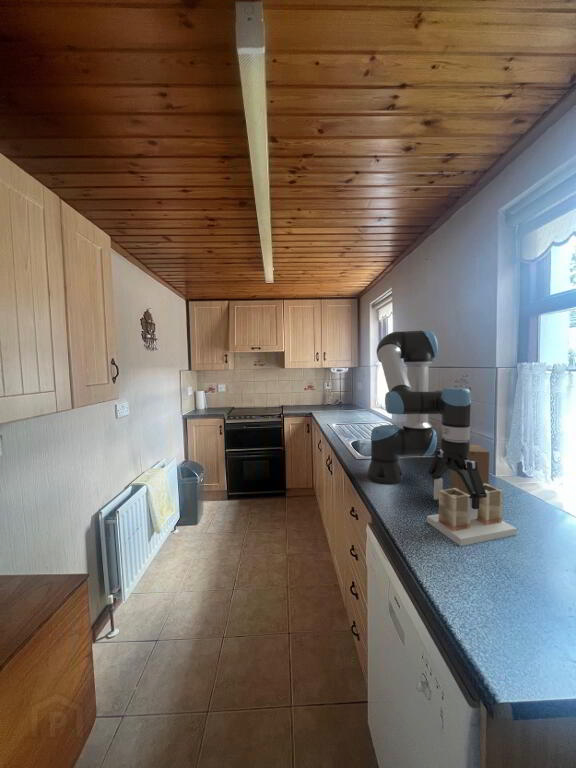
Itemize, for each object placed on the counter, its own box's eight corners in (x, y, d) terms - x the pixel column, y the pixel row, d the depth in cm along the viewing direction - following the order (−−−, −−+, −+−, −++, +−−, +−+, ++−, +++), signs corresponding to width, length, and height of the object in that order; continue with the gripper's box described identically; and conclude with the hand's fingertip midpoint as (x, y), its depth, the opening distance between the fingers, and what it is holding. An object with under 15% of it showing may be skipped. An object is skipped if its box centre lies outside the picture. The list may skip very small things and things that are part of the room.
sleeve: (438, 521, 98) (439, 490, 97) (454, 518, 100) (455, 487, 99) (453, 531, 92) (453, 498, 92) (470, 528, 94) (470, 495, 93)
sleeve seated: (470, 515, 101) (470, 485, 100) (485, 513, 103) (485, 483, 102) (486, 525, 95) (486, 493, 95) (501, 522, 97) (502, 490, 96)
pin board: (426, 521, 102) (427, 488, 101) (477, 513, 107) (478, 481, 106) (460, 546, 88) (461, 508, 88) (516, 534, 93) (517, 498, 93)
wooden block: (488, 507, 111) (490, 451, 110) (457, 505, 113) (458, 450, 112) (477, 495, 121) (478, 444, 119) (449, 493, 123) (450, 443, 121)
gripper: (417, 431, 105) (416, 493, 107) (480, 451, 81) (478, 530, 83) (436, 429, 107) (435, 490, 109) (503, 449, 83) (501, 526, 85)
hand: (454, 508), depth 96 cm, fingers open, 13 cm apart
